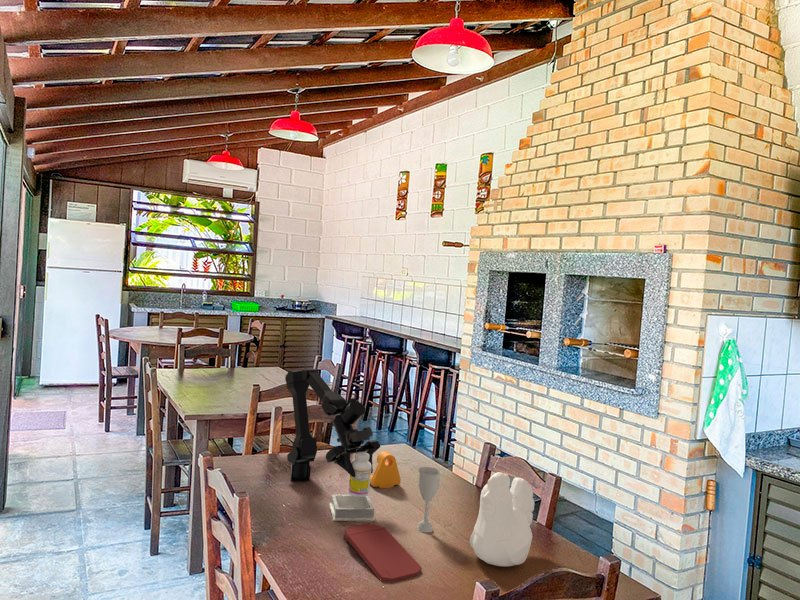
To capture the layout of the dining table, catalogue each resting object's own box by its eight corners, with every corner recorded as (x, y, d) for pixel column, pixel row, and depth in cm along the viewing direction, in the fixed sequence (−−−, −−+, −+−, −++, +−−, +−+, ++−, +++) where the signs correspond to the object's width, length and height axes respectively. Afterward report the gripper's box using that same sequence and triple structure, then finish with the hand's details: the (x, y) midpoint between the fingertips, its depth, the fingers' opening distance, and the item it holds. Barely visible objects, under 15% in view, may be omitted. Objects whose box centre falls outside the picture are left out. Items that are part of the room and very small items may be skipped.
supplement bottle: (353, 488, 190) (356, 449, 190) (371, 492, 188) (375, 453, 188) (345, 495, 184) (348, 455, 184) (364, 499, 182) (368, 459, 182)
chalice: (439, 527, 180) (444, 469, 179) (433, 535, 173) (438, 476, 173) (416, 522, 182) (421, 465, 181) (410, 530, 176) (415, 471, 175)
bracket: (391, 479, 219) (394, 448, 219) (400, 486, 212) (402, 454, 212) (365, 481, 214) (368, 449, 214) (373, 488, 208) (376, 455, 207)
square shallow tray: (333, 521, 177) (334, 509, 177) (329, 504, 190) (330, 493, 190) (375, 521, 180) (376, 509, 180) (368, 504, 192) (369, 494, 192)
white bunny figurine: (495, 581, 149) (504, 486, 149) (455, 554, 162) (463, 467, 161) (558, 560, 164) (567, 474, 163) (517, 538, 177) (524, 457, 176)
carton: (421, 587, 151) (374, 533, 171) (424, 570, 150) (376, 518, 171) (381, 598, 144) (337, 540, 165) (384, 580, 143) (340, 525, 164)
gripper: (334, 421, 182) (352, 467, 174) (379, 416, 195) (398, 458, 187) (317, 439, 188) (334, 484, 180) (362, 433, 201) (380, 474, 193)
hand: (363, 474), depth 185 cm, fingers closed on supplement bottle, 7 cm apart
